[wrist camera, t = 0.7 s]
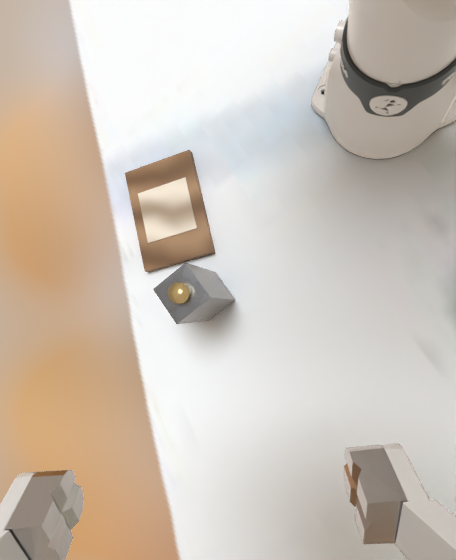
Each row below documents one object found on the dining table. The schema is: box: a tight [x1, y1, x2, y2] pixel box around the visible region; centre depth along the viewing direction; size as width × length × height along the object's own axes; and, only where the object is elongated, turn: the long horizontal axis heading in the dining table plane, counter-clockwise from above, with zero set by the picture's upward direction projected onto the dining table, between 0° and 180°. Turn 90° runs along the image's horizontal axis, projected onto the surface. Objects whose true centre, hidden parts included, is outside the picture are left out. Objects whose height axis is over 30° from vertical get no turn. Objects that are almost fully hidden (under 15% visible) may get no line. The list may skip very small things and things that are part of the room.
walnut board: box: [125, 150, 215, 272], centre depth 54 cm, size 16×11×1 cm
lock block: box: [153, 263, 235, 324], centre depth 46 cm, size 5×5×13 cm
